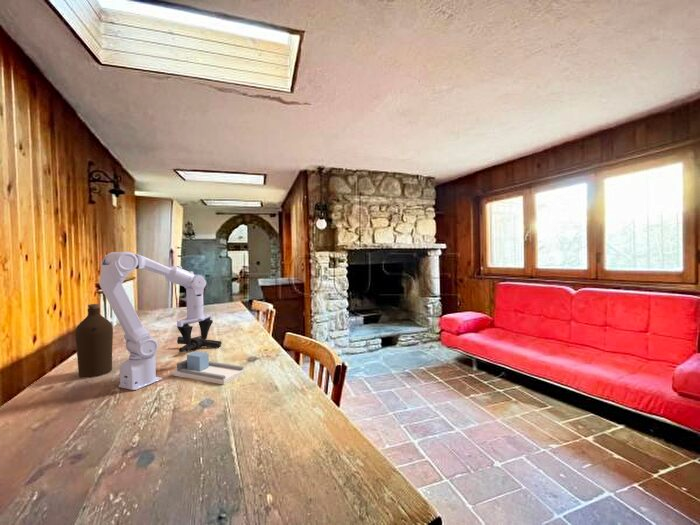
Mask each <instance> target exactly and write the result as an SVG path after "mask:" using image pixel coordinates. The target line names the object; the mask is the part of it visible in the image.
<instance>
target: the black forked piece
mask: <svg viewBox="0 0 700 525" xmlns="http://www.w3.org/2000/svg"><path fill="white" fill-rule="evenodd" d="M176 342H177V345H183V346H181V347H179V348H178V351H179V352H180V353H183V352H186V353H187V352H189V351H192V352H193V351H196V350H199V349H200V348H203V347H205V348H214V349H220V348H221V347H222V341H221V340H213V339H201V335H199V336H195V337H191V343H190V344H189V345H188V344H185V343H184V339H183V337H182V336H178V337H177V340H176ZM219 347H220V348H219Z"/></svg>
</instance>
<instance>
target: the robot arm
mask: <svg viewBox="0 0 700 525" xmlns="http://www.w3.org/2000/svg"><path fill="white" fill-rule="evenodd" d="M100 268H101V269H100V274H99V280H98V285H99V287H100V289H101V291H102V293H103V295H104V296H105V298H106V301H108V304H109V305H110V307H111V309H112V311H113V313H114V315H115V317H116V318H117V319H116V320H117V321H118V322H119V324H120V326H121V328H122V331H123V332H124V336H123V338H124V339H125V349H126V350H127V351H128V352H129V356H128V359H127V360H125V361H123V362H121V364H120V365H119V385H118V387H119V388H122V389H127V390H132V391H137V390H140V389H142V388H144V387H148V386H149V385H152V384H153V383H156V382H158V381H161V380H163V378H162V377H159V376H157V375H156V373H157V372H156V369H157V368H156V353H157V351H158V349H159V347H160V346H159V342H158V340H157V339H156V338H155V337H154V336H152V335H151V333H150V331H148V330H147V329H146V328H145V327H144V325H143V323H142V321H141V320H140V318H139V316H138V313H137V311H136V310H135V307H134V306H133V303H132V301H131V300H130V297H129V295H128V293H127V292H126V290H125V288H124V286H123V283H124V281H125V279H126V278H127V276H128V275H130V274H131V273H132V272H133V271H135V270H141V269H143V270H146V271H149V272H153V273H155V274H159V275H162V276H164V277H165V279H166V281H168V282H170V283H173V284H176V285H179V286H181V287H184V289H185V292H186V318H183V319H179V320H176V327H177V328H176V329H177V330H178V331H179V333H180V334H181V337H183V339H184V343H185V344H184V345H186V344H188V345H189V344H190V343H191V338H192V331H193V328H194V326H192V325H191V324H196V323H198V325H199V328H200V329H199V330H200V336H201V339H206V340H208V334H209V330H210V329H211V327H212V326H211V325H212V324H213V323H214V322H213V314H212V313H206V314H204V308H205V307H204V292H205V291H204V289H205V287H206V286H207V281H206V279H205V278H204V276H203V275H201V274H194V271H192V270H190V271H188V270H186V269H183V266H181V265H174V266H173V265H172V266H170V267H169V266H166V265H165V264H162V263H159V262H158V261H156V260H153V259H151V258H148V257H146V256H144V255H141V254H138V253H133V252H131V251H121V252H120V251H111V252H109V253H108V254H106V255H105V257H104V258H103V259H102V261H101V262H100Z"/></svg>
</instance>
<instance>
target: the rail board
mask: <svg viewBox="0 0 700 525" xmlns="http://www.w3.org/2000/svg"><path fill="white" fill-rule="evenodd" d="M172 374H173V376H174V377H175V376H176V377H181V378H186V379H192V380H197V381H202V382H206V383H207V382H208V383H213V384H219V385H226V384H228V383H231V382H232V381H234V380H236V379H238V378H239V376H240V377H241V375H242V376H243V375H245V374H246V369H245V368H244V365H243V366H242V365H238V364H237V365H235V364H229V363H222V362H215V361H210V360H209V367H208V368H205V369H203V370H201V371H197V370H192V369H187V359H185V360H183V361H180V362H177V363H176V369H174V370H173V372H172Z"/></svg>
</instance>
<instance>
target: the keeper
mask: <svg viewBox="0 0 700 525" xmlns="http://www.w3.org/2000/svg"><path fill="white" fill-rule="evenodd" d="M209 355H210V354H209V353H208V352H202V351H194V352H192V353H188V354H186V360H187V369H192V370H197V371H201V370H203V369H205V368H208V367H209V361H210V359H209V358H210V356H209Z"/></svg>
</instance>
